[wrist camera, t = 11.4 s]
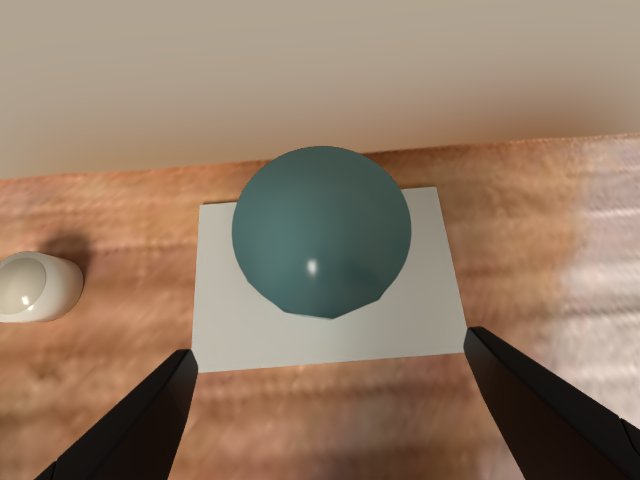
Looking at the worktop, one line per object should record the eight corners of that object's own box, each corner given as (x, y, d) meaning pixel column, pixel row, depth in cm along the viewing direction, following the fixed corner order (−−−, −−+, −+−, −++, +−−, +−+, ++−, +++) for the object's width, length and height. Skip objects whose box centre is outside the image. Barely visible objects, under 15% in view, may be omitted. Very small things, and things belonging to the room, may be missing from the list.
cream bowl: (91, 299, 21) (61, 296, 19) (28, 335, 21) (-12, 337, 18) (72, 247, 23) (41, 238, 20) (12, 279, 22) (-27, 274, 20)
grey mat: (434, 188, 23) (436, 186, 23) (469, 351, 20) (472, 351, 19) (201, 206, 24) (200, 205, 23) (192, 372, 20) (190, 373, 19)
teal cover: (365, 325, 20) (407, 329, 9) (271, 312, 20) (212, 302, 10) (373, 235, 22) (415, 154, 11) (287, 224, 22) (251, 138, 12)
